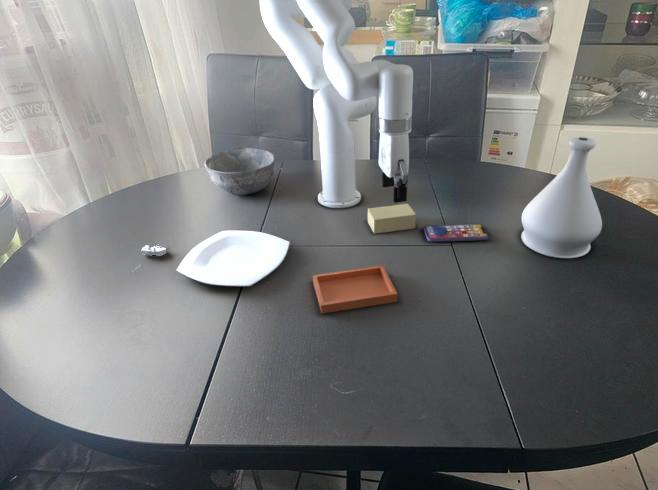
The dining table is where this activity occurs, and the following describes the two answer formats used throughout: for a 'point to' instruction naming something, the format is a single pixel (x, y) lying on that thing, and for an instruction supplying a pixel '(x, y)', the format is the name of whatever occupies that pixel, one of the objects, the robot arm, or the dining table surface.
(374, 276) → the shallow tray
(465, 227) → the smartphone
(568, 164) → the vase
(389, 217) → the foam pad
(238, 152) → the bowl
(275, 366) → the dining table surface
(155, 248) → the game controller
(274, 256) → the plate
